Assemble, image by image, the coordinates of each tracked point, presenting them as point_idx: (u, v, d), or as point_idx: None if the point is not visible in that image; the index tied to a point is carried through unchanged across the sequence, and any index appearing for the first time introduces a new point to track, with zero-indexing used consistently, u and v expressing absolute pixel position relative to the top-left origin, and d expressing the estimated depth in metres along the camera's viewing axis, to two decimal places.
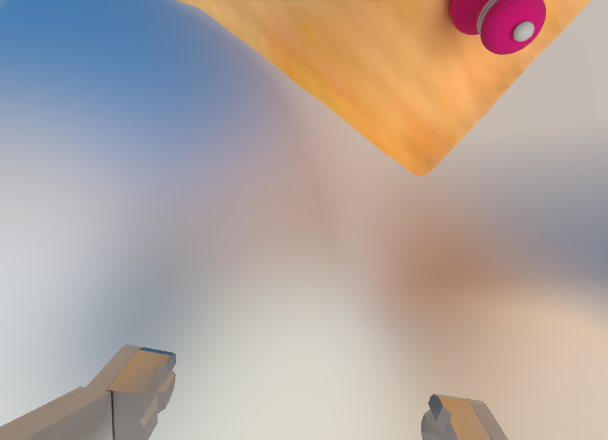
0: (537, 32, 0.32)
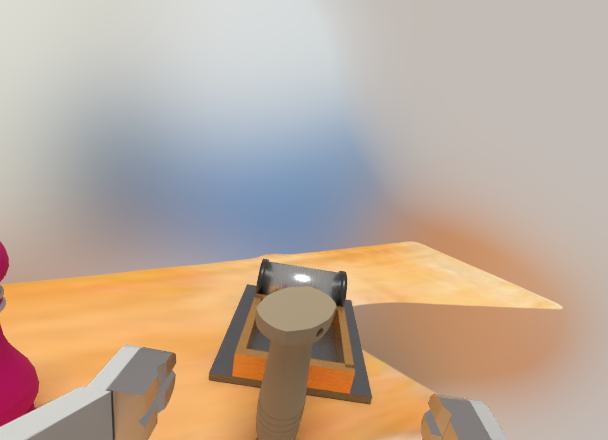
0: None
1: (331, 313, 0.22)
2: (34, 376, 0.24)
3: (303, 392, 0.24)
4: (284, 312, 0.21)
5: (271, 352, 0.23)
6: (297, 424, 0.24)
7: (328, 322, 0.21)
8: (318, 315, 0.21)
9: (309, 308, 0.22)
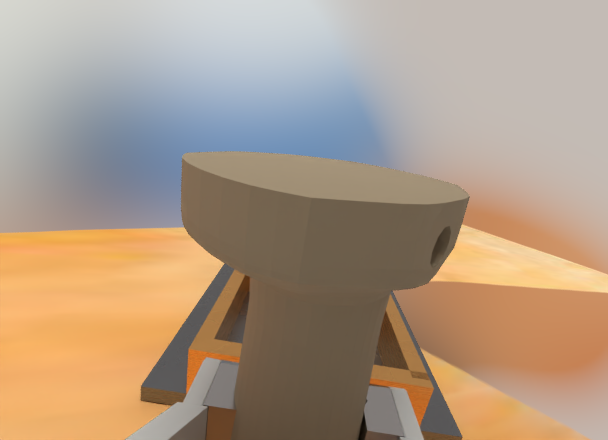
0: None
1: (461, 192, 0.06)
2: None
3: None
4: (294, 171, 0.05)
5: (249, 335, 0.07)
6: None
7: (463, 214, 0.06)
8: (423, 189, 0.06)
9: (381, 178, 0.06)
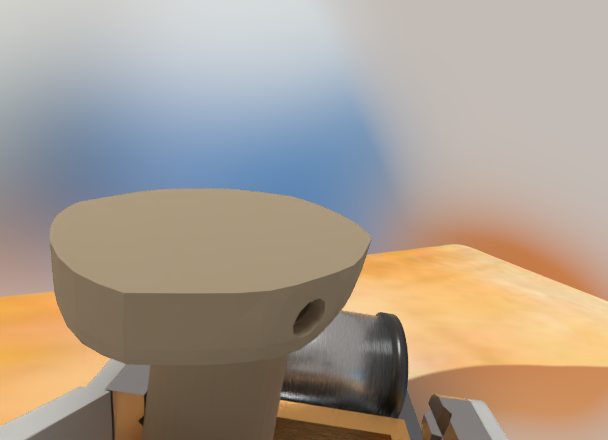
0: None
1: (357, 254, 0.06)
2: None
3: None
4: (177, 229, 0.05)
5: (149, 372, 0.07)
6: None
7: (346, 282, 0.06)
8: (309, 253, 0.06)
9: (281, 233, 0.06)
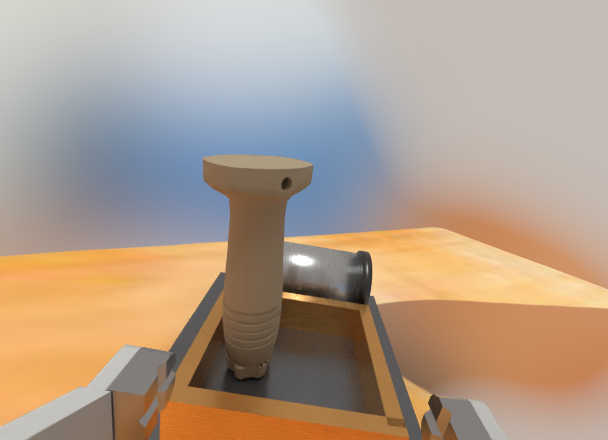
0: None
1: (304, 167, 0.17)
2: None
3: (276, 282, 0.18)
4: (239, 161, 0.16)
5: (230, 225, 0.17)
6: (272, 327, 0.19)
7: (299, 174, 0.16)
8: (285, 166, 0.16)
9: (275, 163, 0.17)
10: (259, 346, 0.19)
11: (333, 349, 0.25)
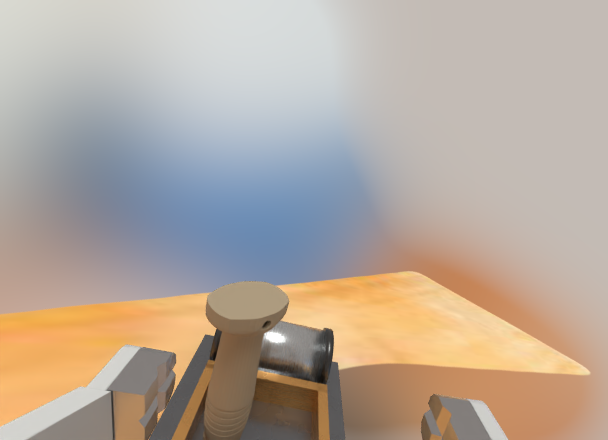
0: None
1: (281, 307, 0.22)
2: None
3: (250, 386, 0.24)
4: (234, 302, 0.22)
5: (220, 342, 0.23)
6: (243, 419, 0.25)
7: (276, 316, 0.22)
8: (267, 308, 0.22)
9: (260, 301, 0.23)
10: (231, 434, 0.24)
11: (293, 425, 0.30)
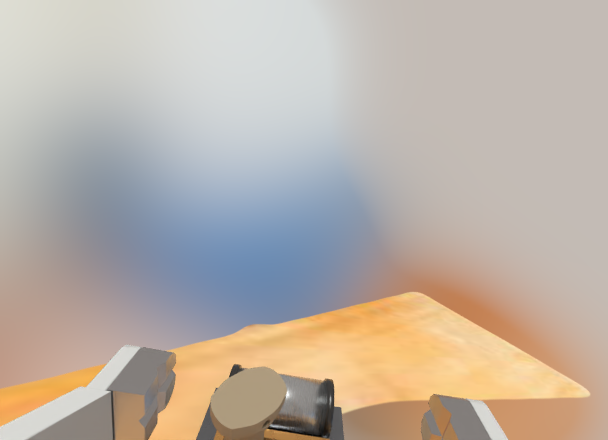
0: None
1: (279, 403, 0.24)
2: None
3: None
4: (235, 403, 0.24)
5: None
6: None
7: (275, 413, 0.24)
8: (266, 406, 0.24)
9: (260, 397, 0.24)
10: None
11: None
